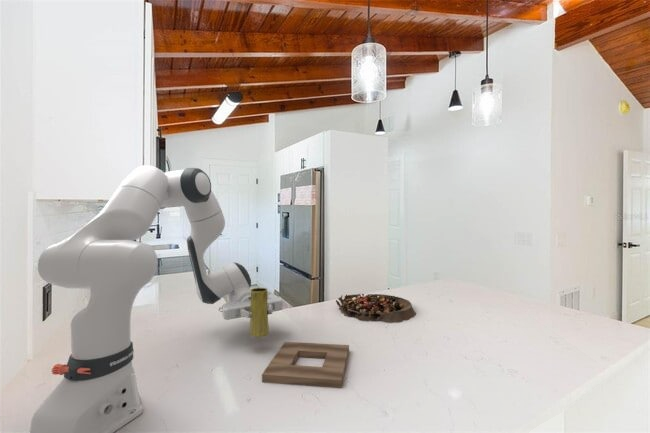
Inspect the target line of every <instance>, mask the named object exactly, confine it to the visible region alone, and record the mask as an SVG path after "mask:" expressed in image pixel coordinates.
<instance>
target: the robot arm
mask: <svg viewBox="0 0 650 433" xmlns="http://www.w3.org/2000/svg"><path fill="white" fill-rule="evenodd" d="M181 207H184V210H185V214H186V216H187V218H188V221H189V224H190V235H189V236H188V237H187V239H186V246H187V251H188V255H189V260H190V264H191V268H192V269H191V270H192V272H193V273H192V274H193V276H194V282H195V283H194V284H195V290H196V291H195V292H196V294H197V297H198V299H199V300H200V301H201V303H203V304H206V305H214V304H216V303H217V302H219V301H220V300H221V299H222V298H225V297H226V299H227V302H226V303H223V305H222V306H221V307H218V311H219V312H220V313H222V317H223V320H227V321H229V320H235V319H240V318H246V319H250V318H252V312H251V289H250V288H251V287H252V286H251V285H252V278H251V277H250V274H249V271H248V270H247V269H246V268H245V267H244V266H243V265H242V264H240V263H238V262H236V261H235V262H231V263H229V264H228V265H225V266H224V267H221V268H220V269H218V270H215V271H214V272H212V273H210V274H208V273H207V269H206V265H205V260H204V257H205V256H204V255H205V253H206V251H207V250H208V248H209V247H210V246H211V245H212V244H213V243H214V242H215V241H216V240H217V239H218V238H219V237H220V236H221V234H222V233H223V231H224V229H225V226H226V220H225V215H224V213H223V211H222V207H221V206H220V203H219V202H218V199H217V198H216V195H215V194H214V192H213V190H212V182H211V179H210V177H209V175H208V174H207V173H206V172H205V171H203V169H201V168H197V167H187V168H184V169H177V170H176V169H175V170H168V171H163V170H161V169H160V168H158V167H156V166H153V165H150V164H149V165H147V164H145V165H140V166H137V167H136V168H135V169H134V170H132V172H130V173H128V175H127V176H126V177H125V179H123V181H122V182H121V183H120V184H119V186H118V187H117V188H116V190H115V191H114V193H113V194H112V196H111V197H110V198H109V200H108V201H107V202H106V204H105V205H104V207H103V208H102V209H101V210H100V211H99V213H98V214H96V216H95V217H93V218H92V219H91V220H89V222H87V223H86V224H85V225H83V226H82V227H81V228H79V229H78V230H77V231H75V232H74V233H72V234H71V235H69V236H68V237H66V238H65V239H63V240H60V241H59V242H56V243H53V244H51V245H49V246H48V247H46V248H45V249H44V250H43V251H42V252H41V254H40V255H39V258H38V262H37V271H38V274H39V276H40V278H41V279H42V280H43V281H45V282H46V283H47V284H51V285H54V286H57V287H62V288H65V289H83V290H84V289H87V290H90V297H89V299H88V304H87V305H86V306H85V307H84V308H82V309H81V310H79V311H78V312H77V313H76V314H75V315H74V316H73V318H72V319H71V321H70V342H71V343H70V346H71V348H70V349H71V353H70V355H69V358H68V359H67V360H68V361H67V363H66V364H62V363H61V364H60V363H57V364H54V365H53V366H52V368H51V374H52V375H55V376H56V375H59V376H63V378H62V380H61V381H60V382H59V383H58V384H57V385H56V387H55V388H54V389H53V390H52V391H51V392H50V394H49V395H48V396H47V397H46V398H45V400H43V402H42V404H40V406H39V407H38V408H37V409H36V410H35V411H34V413H33V416H32V418H31V423H30V430H29V431H30V432H29V433H115V432H116V431H118V430H120V429H121V428H122V427H124V426H125V425H126V424H128V423H129V422H131V421H133V420H134V419H135V418H137V417H138V416H140V415H141V414H143V412H144V408H143V405H142V404H141V396H140V393H139V391H138V383H137V378H136V374H135V370H134V366H133V359H134V350H135V349H134V343H133V341H132V340H131V336H132V334H131V327H132V326H131V324H132V323H131V316H132V311H133V310H132V309H133V305H134V302H135V300H136V298H137V296H138V294H139V292H140V291H141V290H142V289H143V288H144V286H146V285H147V284H149V283H150V282H151V280H152V279H153V278H154V276H155V274H157V271H158V264H159V261H158V256H157V253H156V251H155V249H154V248H153V247H152V246H151V245H150V244H148V243H146V242H145V243H144V242H142V241H141V242H140V241H136V240H138V239H140V238H142V237H143V236H144V235H146V234H147V233H148V231H149V230H150V229H151V226H152V225H153V223H154V221H155V219H156V217H157V215H158V213H159V212H160V210H164V209H167V208H181ZM267 306H268V308H267V311H268V316H270V315H273V312H278V311H282V310H283V308H284V301H283V299H282V298H281V297H280V296H278V295H275V294H274V293H273V294H272V292H271V291H270V290H267Z"/></svg>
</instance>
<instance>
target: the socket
mask: <svg viewBox="0 0 650 433" xmlns="http://www.w3.org/2000/svg"><path fill="white" fill-rule="evenodd" d="M349 355H350V344H337V343H334V344H333V343H318V342H317V343H316V342H301V341H299V342H296V341H284V342H283V344H282V345H281V347H279V350H278V351H277V352H276V353H275V355H274V356H273V358H272V359H271V360H270V362H269V363H268V365H267V367H266V368H265V369H264V370H263V372H262V373H261V382H262V383H272V384H273V383H274V384H284V385H285V384H286V385H298V386H309V387H310V386H312V387H322V388H323V387H325V388H335V389H336V388H338V389H342V387H343V382H344V379H345V378H344V377H345V373H346V368H347V364H348V359H349ZM299 358H305V359H307V358H309V359H321V360H322V359H323V360H324V361H323V364H322V366H311V365H299V364H298V365H297V364H296V363H297V360H298V359H299Z"/></svg>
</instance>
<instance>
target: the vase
mask: <svg viewBox="0 0 650 433" xmlns="http://www.w3.org/2000/svg"><path fill="white" fill-rule="evenodd" d="M250 290H251V312H252V318H249V320H250V321H249V335H250V337H253V338H262V337H266V336H268V335H269V334H270V330H269V315H268V311H267V308H268V306H267V291H268V288H266V287H255V288H251V289H250Z"/></svg>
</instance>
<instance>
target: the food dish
mask: <svg viewBox="0 0 650 433" xmlns="http://www.w3.org/2000/svg"><path fill="white" fill-rule="evenodd" d="M337 299H338V300H337ZM337 299H336V300H335V303H336V305H337V306H338V310H339V311H340V314H343V316H344V317H347V318H354V319H356V320H358V321H362V322H377V323H378V322H381V323H385V324H386V323H388V324H396V323H397V324H398V323H399V324H400V323H402V322H404V321H408V320H411V319H413V318H415V316H416V315H417V313H416V311H415V310H414V308H413V306H412V303H411V302H410V300H408V299H405V298H402V297H399V296H395V295H388V294H381V293H380V294H378V293H377V294H376V293H373V294H371V293H370V294H369V293H368V294H366V295H365V294H364V293H362V294H361V293H358V294H345V296H344V297H343V295H341V296H340V297H337Z"/></svg>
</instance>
